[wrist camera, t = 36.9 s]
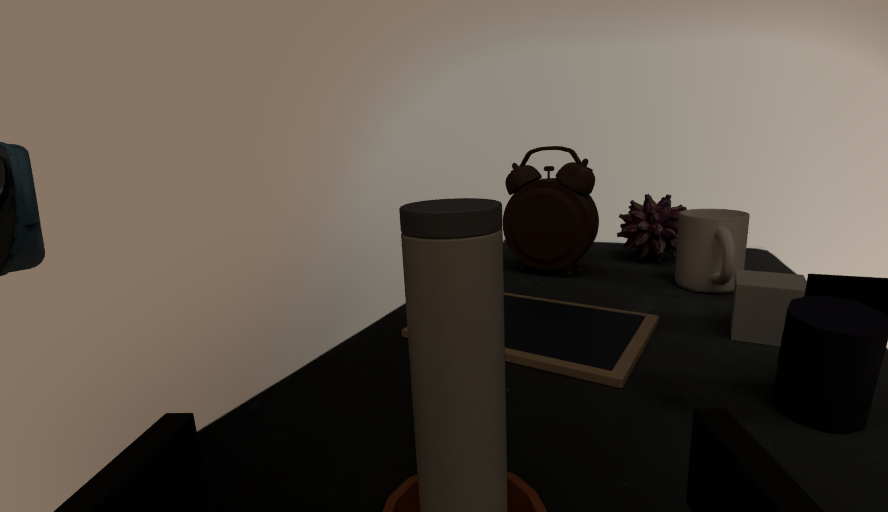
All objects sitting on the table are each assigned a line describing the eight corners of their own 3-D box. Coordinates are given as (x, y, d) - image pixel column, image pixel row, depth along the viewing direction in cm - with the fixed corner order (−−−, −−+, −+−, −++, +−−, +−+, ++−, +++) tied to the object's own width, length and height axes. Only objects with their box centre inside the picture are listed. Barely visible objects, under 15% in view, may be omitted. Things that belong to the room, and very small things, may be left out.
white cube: (730, 340, 48) (736, 284, 47) (730, 320, 53) (735, 269, 52) (803, 350, 45) (811, 290, 44) (796, 328, 50) (803, 274, 49)
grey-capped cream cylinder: (408, 591, 22) (377, 209, 18) (453, 531, 25) (437, 197, 21) (483, 637, 20) (468, 213, 15) (522, 565, 23) (519, 199, 19)
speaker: (782, 374, 40) (803, 262, 37) (871, 400, 36) (903, 277, 33) (759, 419, 35) (781, 295, 32) (859, 455, 31) (896, 317, 28)
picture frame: (401, 337, 53) (401, 328, 52) (476, 294, 66) (476, 287, 66) (622, 389, 40) (622, 378, 39) (658, 322, 53) (659, 314, 53)
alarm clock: (601, 271, 75) (605, 143, 71) (588, 282, 69) (591, 144, 65) (517, 262, 83) (516, 147, 78) (499, 272, 77) (497, 148, 72)
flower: (622, 259, 87) (692, 248, 83) (623, 274, 76) (704, 262, 72) (610, 199, 86) (681, 185, 82) (610, 205, 75) (692, 188, 71)
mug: (763, 305, 57) (772, 222, 54) (688, 303, 59) (695, 223, 56) (729, 278, 68) (736, 208, 66) (668, 277, 70) (673, 209, 68)
